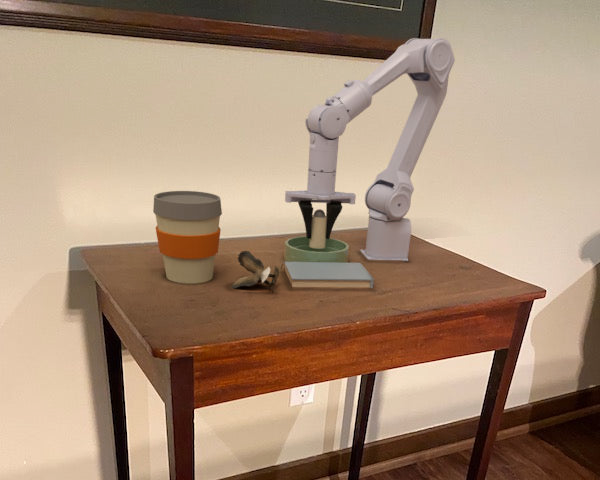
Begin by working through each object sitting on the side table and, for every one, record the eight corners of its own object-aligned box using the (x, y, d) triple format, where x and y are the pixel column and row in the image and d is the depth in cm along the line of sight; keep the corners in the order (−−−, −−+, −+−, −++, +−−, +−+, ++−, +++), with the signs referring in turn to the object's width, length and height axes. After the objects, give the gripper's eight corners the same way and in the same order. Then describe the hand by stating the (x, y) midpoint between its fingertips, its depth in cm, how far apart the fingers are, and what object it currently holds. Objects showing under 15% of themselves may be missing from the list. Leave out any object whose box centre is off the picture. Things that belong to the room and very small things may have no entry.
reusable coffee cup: (177, 263, 127) (174, 188, 120) (232, 272, 124) (233, 195, 117) (144, 280, 117) (138, 198, 109) (203, 290, 113) (202, 207, 106)
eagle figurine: (282, 277, 119) (238, 263, 120) (284, 253, 113) (238, 238, 113) (269, 307, 116) (224, 293, 116) (271, 284, 109) (223, 269, 110)
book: (359, 273, 129) (360, 262, 128) (372, 290, 119) (374, 279, 118) (283, 272, 126) (284, 261, 125) (291, 289, 117) (291, 278, 116)
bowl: (339, 254, 141) (341, 236, 139) (353, 272, 129) (355, 253, 127) (280, 253, 139) (281, 235, 137) (288, 271, 127) (289, 252, 125)
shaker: (323, 244, 134) (326, 207, 131) (326, 248, 131) (329, 211, 128) (307, 244, 134) (310, 207, 130) (310, 248, 131) (312, 211, 127)
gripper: (289, 172, 120) (286, 241, 127) (361, 174, 123) (354, 242, 129) (284, 166, 127) (282, 233, 133) (353, 169, 129) (347, 234, 135)
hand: (317, 237), depth 132 cm, fingers closed on shaker, 3 cm apart
